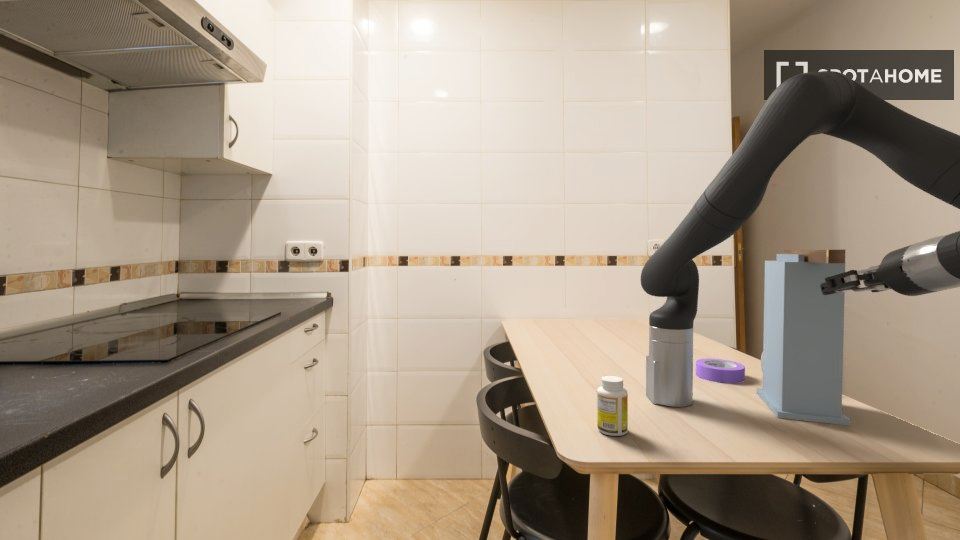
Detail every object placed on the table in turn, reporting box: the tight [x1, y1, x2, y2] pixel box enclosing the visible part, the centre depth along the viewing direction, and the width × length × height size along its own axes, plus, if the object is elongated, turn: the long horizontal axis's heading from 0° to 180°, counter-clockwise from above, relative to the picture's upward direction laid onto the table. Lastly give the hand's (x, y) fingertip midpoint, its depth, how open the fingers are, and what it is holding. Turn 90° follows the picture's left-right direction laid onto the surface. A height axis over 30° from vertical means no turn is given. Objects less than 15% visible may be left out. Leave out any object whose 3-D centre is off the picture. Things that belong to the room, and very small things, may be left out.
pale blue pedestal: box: [756, 253, 851, 426], centre depth 92 cm, size 12×16×34 cm
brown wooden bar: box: [783, 249, 846, 264], centre depth 86 cm, size 2×24×2 cm, turn 160°
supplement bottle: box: [596, 375, 629, 437], centre depth 81 cm, size 6×6×10 cm
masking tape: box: [695, 357, 746, 384], centre depth 116 cm, size 12×12×4 cm
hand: (847, 288), depth 78 cm, fingers open, 8 cm apart
